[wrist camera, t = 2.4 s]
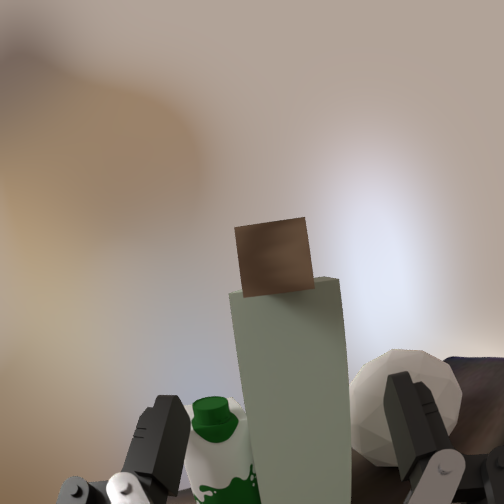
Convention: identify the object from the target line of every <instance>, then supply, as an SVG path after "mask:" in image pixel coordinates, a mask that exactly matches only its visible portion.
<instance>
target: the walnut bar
mask: <svg viewBox="0 0 504 504" xmlns="http://www.w3.org/2000/svg"><path fill="white" fill-rule="evenodd" d="M234 229H235V237H236V245H237V253H238V260H239V268H240V276H241V284H242V292H243V298H247V297H256V296H264V295H272V294H280V293H287V292H295V291H302V290H309V289H315V285H314V278H313V270H312V263H311V255H310V248H309V242H308V234H307V228H306V221H305V217H301V218H294V219H287V220H280V221H274V222H267V223H260V224H253V225H247V226H240V227H235V228H234Z"/></svg>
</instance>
